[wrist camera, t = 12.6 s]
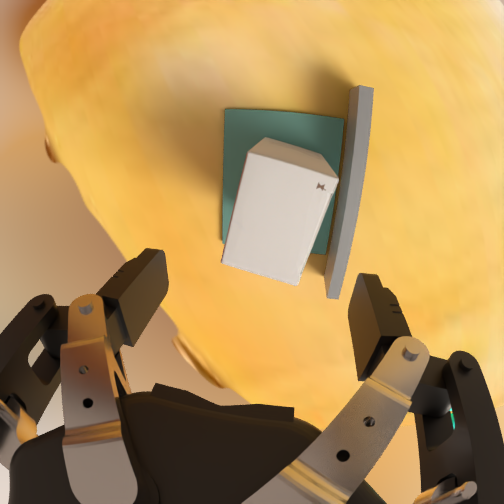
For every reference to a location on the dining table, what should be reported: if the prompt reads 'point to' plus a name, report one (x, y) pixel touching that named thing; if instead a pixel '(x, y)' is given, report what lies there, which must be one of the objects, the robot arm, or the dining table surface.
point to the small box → (278, 210)
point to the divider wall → (349, 187)
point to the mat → (285, 130)
